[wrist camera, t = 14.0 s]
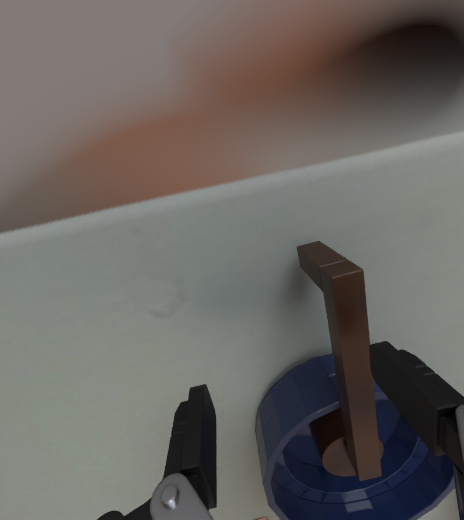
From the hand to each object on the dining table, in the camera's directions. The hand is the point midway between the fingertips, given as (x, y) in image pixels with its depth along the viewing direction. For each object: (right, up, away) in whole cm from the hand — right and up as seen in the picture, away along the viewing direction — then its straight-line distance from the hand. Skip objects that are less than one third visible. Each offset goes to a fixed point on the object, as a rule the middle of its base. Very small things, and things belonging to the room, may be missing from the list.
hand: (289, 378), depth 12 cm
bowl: (+7, -9, +12) cm, 17 cm away
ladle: (+5, -3, +9) cm, 10 cm away
